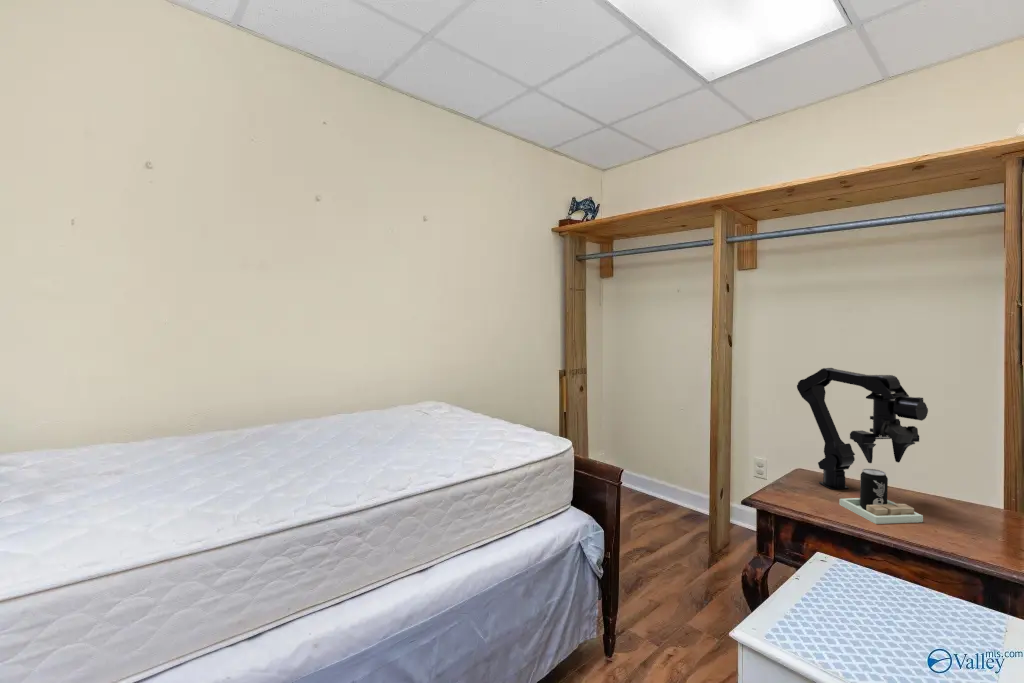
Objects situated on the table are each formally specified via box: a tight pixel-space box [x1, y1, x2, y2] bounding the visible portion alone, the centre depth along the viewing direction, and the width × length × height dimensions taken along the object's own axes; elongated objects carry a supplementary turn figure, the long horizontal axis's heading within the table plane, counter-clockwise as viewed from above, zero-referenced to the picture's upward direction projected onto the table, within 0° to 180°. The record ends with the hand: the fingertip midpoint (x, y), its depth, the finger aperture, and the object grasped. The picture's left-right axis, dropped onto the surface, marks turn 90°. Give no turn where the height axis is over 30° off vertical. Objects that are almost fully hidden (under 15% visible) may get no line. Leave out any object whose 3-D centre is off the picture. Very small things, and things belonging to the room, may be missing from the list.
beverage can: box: [859, 468, 889, 510], centre depth 142 cm, size 7×7×12 cm
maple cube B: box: [880, 504, 901, 515], centre depth 136 cm, size 4×4×4 cm
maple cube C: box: [893, 503, 915, 515], centre depth 137 cm, size 4×4×4 cm
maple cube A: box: [866, 505, 888, 516], centre depth 136 cm, size 4×4×4 cm
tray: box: [839, 497, 924, 525], centre depth 140 cm, size 14×14×2 cm
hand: (883, 462), depth 149 cm, fingers open, 9 cm apart
